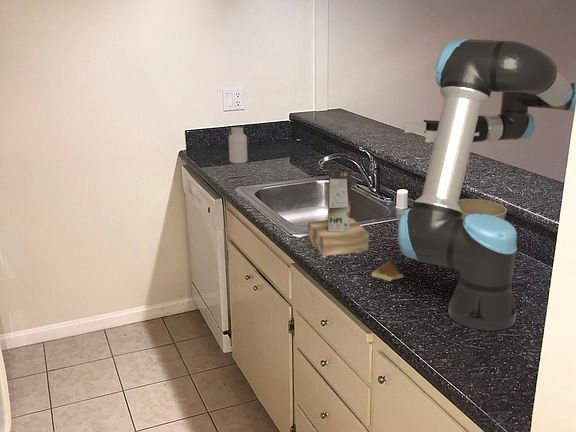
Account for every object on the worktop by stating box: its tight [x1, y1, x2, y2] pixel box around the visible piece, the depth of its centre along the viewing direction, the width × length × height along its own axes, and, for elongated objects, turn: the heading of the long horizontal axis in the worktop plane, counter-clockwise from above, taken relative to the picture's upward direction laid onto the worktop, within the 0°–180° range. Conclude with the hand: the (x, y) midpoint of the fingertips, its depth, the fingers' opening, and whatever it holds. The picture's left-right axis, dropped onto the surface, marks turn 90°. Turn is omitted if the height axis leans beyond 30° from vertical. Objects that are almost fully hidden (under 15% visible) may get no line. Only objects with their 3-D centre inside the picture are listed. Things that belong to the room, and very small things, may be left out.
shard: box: [370, 259, 405, 282], centre depth 177 cm, size 11×8×2 cm
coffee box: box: [327, 170, 352, 232], centre depth 193 cm, size 9×6×16 cm
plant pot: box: [458, 198, 508, 220], centre depth 182 cm, size 15×15×16 cm
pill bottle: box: [228, 126, 248, 164], centre depth 290 cm, size 8×8×15 cm
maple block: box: [307, 217, 370, 257], centre depth 196 cm, size 14×14×6 cm
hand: (414, 132), depth 186 cm, fingers open, 13 cm apart
